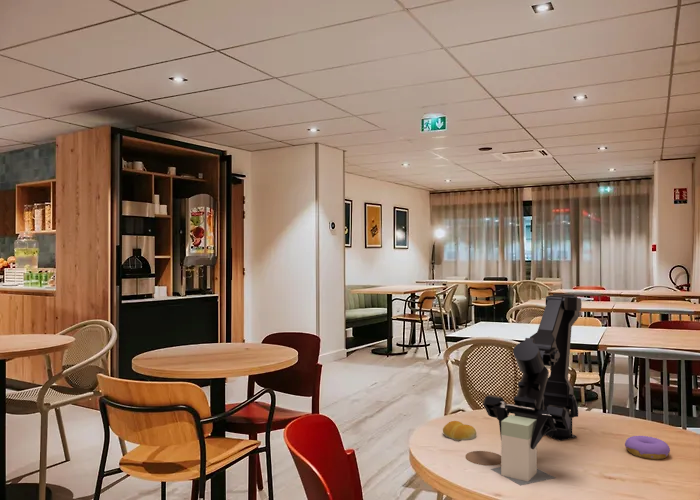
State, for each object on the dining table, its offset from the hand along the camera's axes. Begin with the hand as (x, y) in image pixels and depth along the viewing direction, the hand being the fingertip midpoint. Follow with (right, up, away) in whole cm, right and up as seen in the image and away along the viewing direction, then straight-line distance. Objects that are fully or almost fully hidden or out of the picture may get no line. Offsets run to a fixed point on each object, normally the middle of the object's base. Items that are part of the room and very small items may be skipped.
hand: (516, 445), depth 123 cm
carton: (+1, -7, +1) cm, 7 cm away
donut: (+37, -8, +15) cm, 41 cm away
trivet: (-5, -7, +11) cm, 14 cm away
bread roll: (-7, -8, +28) cm, 30 cm away
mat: (+2, -7, +1) cm, 8 cm away
